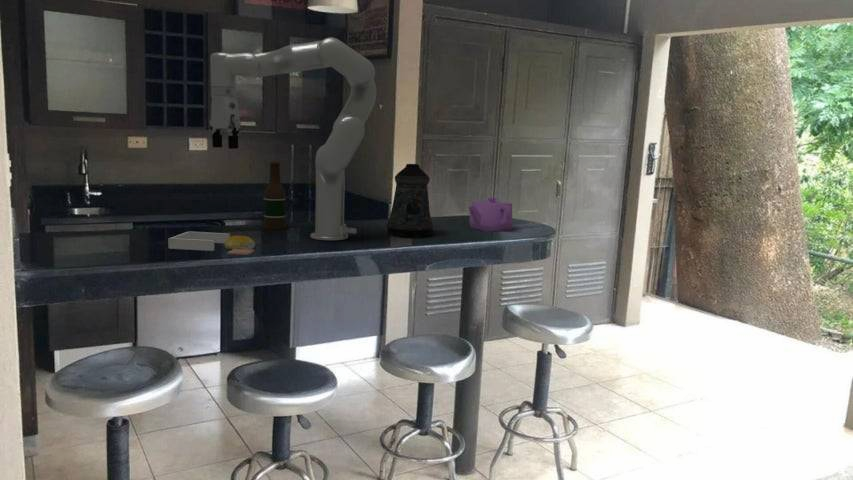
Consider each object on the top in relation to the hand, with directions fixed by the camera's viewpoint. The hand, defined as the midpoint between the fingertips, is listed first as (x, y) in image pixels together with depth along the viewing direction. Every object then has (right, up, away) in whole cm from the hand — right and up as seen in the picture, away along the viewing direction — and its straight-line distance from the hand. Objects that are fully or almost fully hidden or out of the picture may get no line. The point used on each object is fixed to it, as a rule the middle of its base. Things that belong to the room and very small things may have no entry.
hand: (225, 147), depth 223 cm
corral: (-4, -31, -10) cm, 33 cm away
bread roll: (+8, -32, -11) cm, 35 cm away
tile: (+10, -33, -19) cm, 39 cm away
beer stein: (+58, -27, +28) cm, 70 cm away
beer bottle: (+10, -26, +28) cm, 39 cm away
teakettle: (+88, -25, +49) cm, 104 cm away
